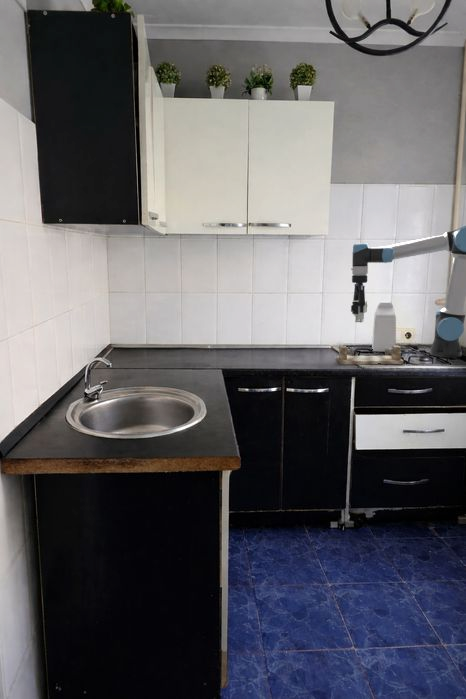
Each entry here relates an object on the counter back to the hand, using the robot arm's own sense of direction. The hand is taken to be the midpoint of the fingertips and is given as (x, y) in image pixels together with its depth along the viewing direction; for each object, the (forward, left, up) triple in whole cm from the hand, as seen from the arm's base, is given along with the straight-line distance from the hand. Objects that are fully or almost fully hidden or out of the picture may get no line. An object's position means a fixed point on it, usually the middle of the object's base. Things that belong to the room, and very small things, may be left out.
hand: (358, 317), depth 262 cm
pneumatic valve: (0, 0, -3) cm, 3 cm away
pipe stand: (-3, +13, -20) cm, 24 cm away
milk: (-17, -16, -20) cm, 31 cm away
